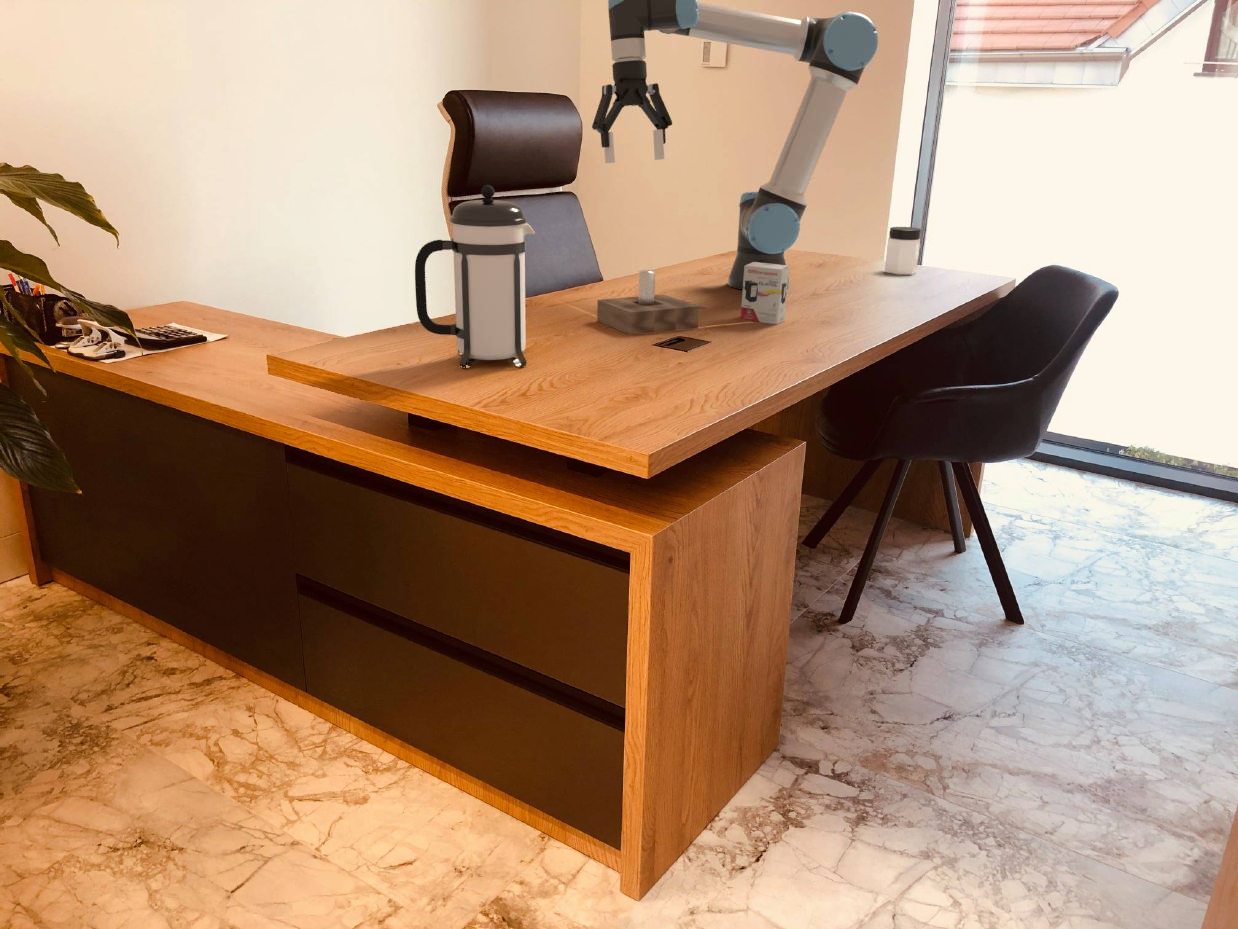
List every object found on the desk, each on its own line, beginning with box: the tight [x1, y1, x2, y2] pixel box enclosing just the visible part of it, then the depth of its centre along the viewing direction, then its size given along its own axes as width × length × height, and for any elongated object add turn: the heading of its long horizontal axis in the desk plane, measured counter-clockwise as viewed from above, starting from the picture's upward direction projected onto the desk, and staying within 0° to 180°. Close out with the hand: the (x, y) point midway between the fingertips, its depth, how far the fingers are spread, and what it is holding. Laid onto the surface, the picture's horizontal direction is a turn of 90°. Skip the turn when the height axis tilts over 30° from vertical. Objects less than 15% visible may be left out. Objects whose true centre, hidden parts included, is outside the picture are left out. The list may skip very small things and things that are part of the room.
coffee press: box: [414, 184, 536, 369], centre depth 172 cm, size 17×16×30 cm
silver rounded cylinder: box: [638, 269, 656, 306], centre depth 206 cm, size 3×3×11 cm
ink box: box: [740, 262, 790, 325], centre depth 213 cm, size 9×5×12 cm, turn 62°
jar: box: [884, 226, 922, 276], centre depth 278 cm, size 9×8×12 cm
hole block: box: [596, 293, 700, 336], centre depth 208 cm, size 16×14×4 cm
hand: (635, 161), depth 229 cm, fingers open, 13 cm apart
